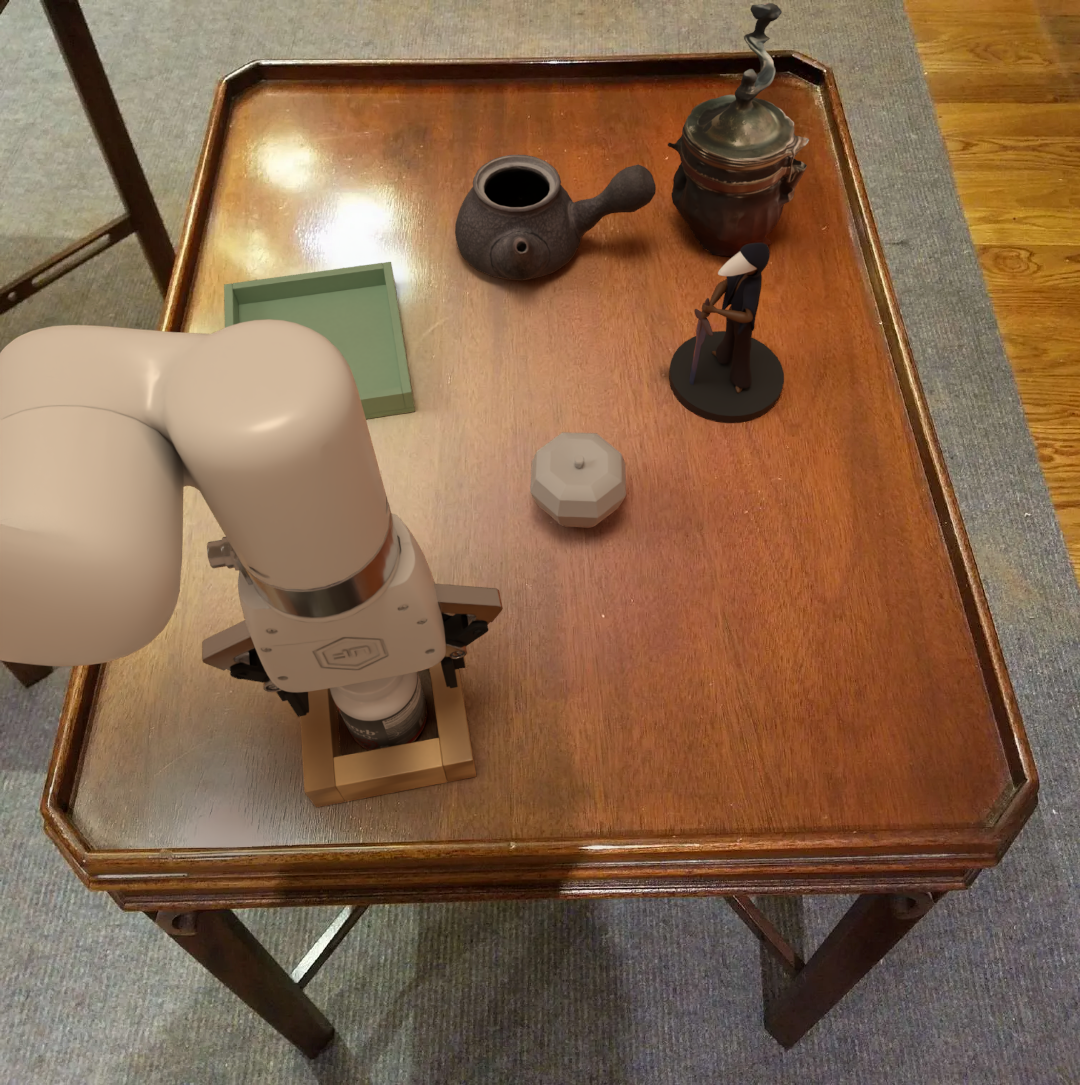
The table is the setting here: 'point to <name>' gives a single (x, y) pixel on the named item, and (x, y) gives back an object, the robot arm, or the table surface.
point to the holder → (384, 751)
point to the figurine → (729, 350)
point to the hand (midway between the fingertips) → (376, 681)
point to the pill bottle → (383, 710)
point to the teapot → (536, 215)
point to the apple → (578, 479)
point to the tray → (340, 324)
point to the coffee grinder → (738, 158)
